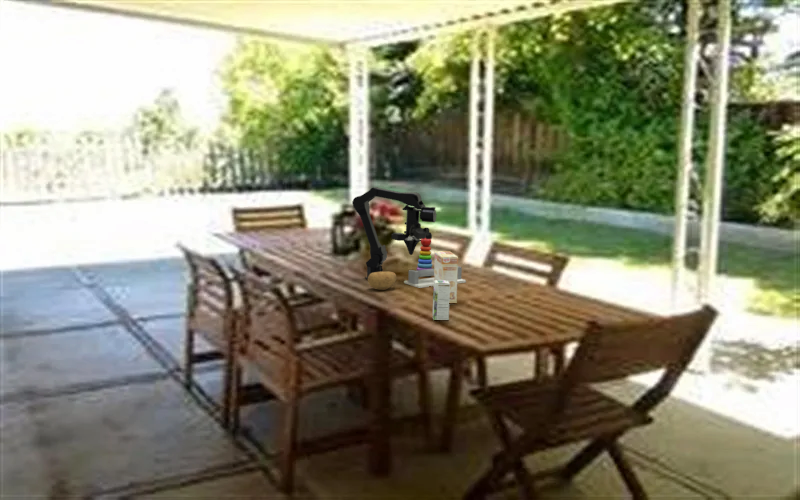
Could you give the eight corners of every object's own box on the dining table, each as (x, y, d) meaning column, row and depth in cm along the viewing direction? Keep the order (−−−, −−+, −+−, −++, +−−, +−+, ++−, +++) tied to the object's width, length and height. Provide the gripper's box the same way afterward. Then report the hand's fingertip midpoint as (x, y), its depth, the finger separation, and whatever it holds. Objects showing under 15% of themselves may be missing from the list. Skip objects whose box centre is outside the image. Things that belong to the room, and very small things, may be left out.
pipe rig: (419, 287, 395) (419, 272, 394) (404, 283, 405) (404, 268, 404) (465, 282, 409) (466, 268, 408) (450, 277, 419) (450, 263, 418)
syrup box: (432, 317, 341) (433, 279, 338) (447, 317, 341) (448, 279, 339) (433, 321, 335) (434, 282, 333) (449, 320, 335) (450, 282, 333)
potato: (401, 289, 391) (402, 271, 389) (375, 293, 382) (375, 274, 381) (388, 285, 398) (389, 268, 397) (362, 289, 390) (362, 271, 389)
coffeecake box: (457, 304, 364) (458, 256, 361) (440, 304, 363) (441, 257, 360) (449, 296, 379) (450, 250, 376) (432, 296, 378) (434, 251, 374)
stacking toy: (431, 277, 420) (432, 237, 417) (414, 276, 421) (415, 236, 418) (434, 274, 427) (435, 235, 424) (417, 273, 429) (418, 234, 426)
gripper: (405, 223, 391) (403, 259, 394) (440, 222, 402) (438, 256, 404) (391, 220, 401) (390, 254, 403) (425, 218, 411) (423, 252, 413)
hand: (410, 254), depth 406 cm, fingers closed
